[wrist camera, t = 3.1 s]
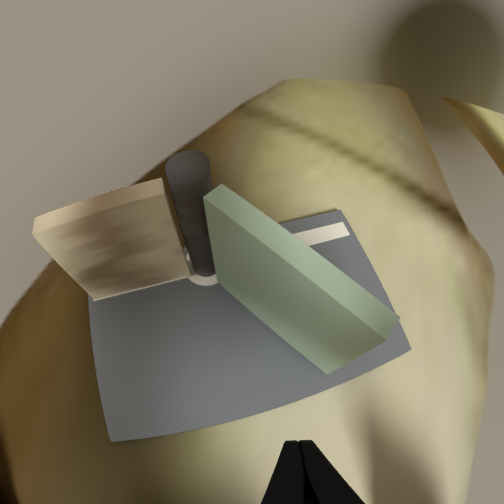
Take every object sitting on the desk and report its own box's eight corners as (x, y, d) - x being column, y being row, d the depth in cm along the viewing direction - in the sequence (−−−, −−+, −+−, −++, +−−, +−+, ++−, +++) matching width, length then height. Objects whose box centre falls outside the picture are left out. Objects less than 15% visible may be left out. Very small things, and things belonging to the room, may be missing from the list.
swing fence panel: (217, 281, 21) (203, 197, 13) (229, 271, 22) (221, 183, 14) (326, 374, 18) (386, 340, 10) (337, 360, 18) (400, 317, 10)
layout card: (113, 441, 15) (110, 442, 15) (89, 275, 22) (86, 272, 21) (408, 350, 19) (411, 349, 19) (339, 213, 26) (340, 209, 25)
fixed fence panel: (95, 305, 20) (21, 231, 12) (93, 280, 21) (28, 200, 13) (224, 273, 22) (213, 173, 13) (217, 248, 23) (204, 146, 14)
